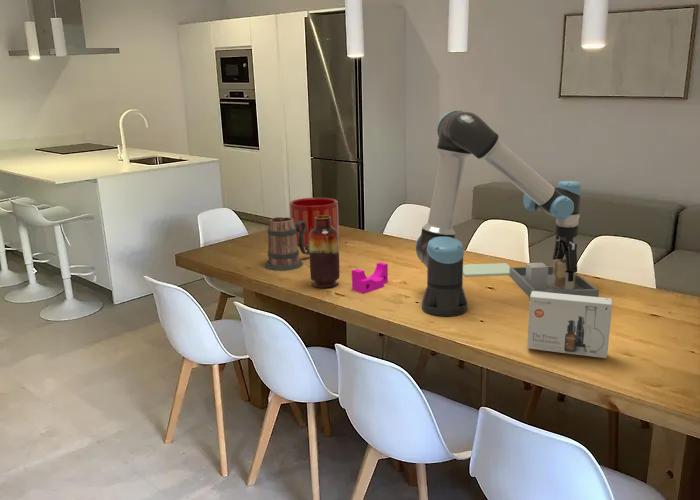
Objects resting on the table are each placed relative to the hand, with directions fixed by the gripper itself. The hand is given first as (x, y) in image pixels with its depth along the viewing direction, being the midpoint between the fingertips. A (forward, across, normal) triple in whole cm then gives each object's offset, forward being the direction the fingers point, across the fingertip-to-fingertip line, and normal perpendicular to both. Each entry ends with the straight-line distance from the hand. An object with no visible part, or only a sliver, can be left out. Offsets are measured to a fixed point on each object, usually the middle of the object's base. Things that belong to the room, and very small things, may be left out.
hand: (563, 284), depth 228 cm
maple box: (0, 0, 0) cm, 0 cm away
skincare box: (+1, -55, +19) cm, 58 cm away
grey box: (0, 0, +10) cm, 10 cm away
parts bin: (+1, 0, +4) cm, 5 cm away
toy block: (+1, +8, +69) cm, 69 cm away
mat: (+1, +23, +22) cm, 32 cm away
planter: (+1, +79, +92) cm, 121 cm away
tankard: (+1, +43, +102) cm, 110 cm away
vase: (+1, +13, +86) cm, 87 cm away
